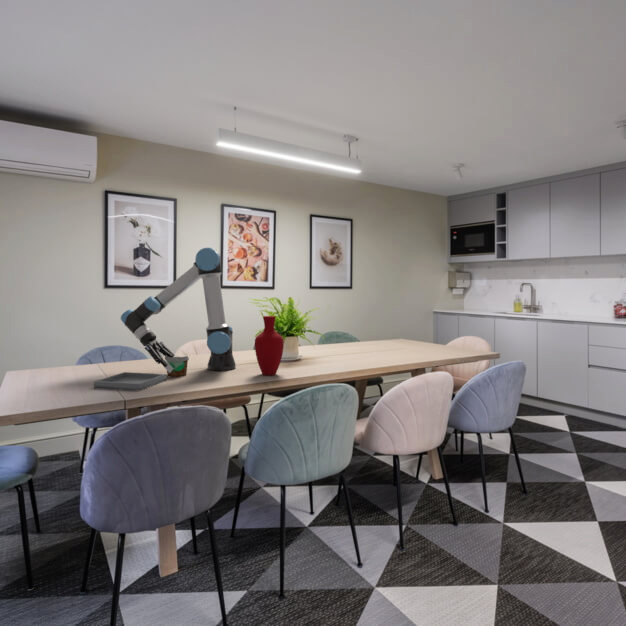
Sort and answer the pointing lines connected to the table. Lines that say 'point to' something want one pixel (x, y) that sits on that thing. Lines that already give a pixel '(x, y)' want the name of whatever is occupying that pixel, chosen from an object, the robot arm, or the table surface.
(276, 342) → the vase
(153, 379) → the gray square tray
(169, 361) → the food container
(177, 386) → the table surface
